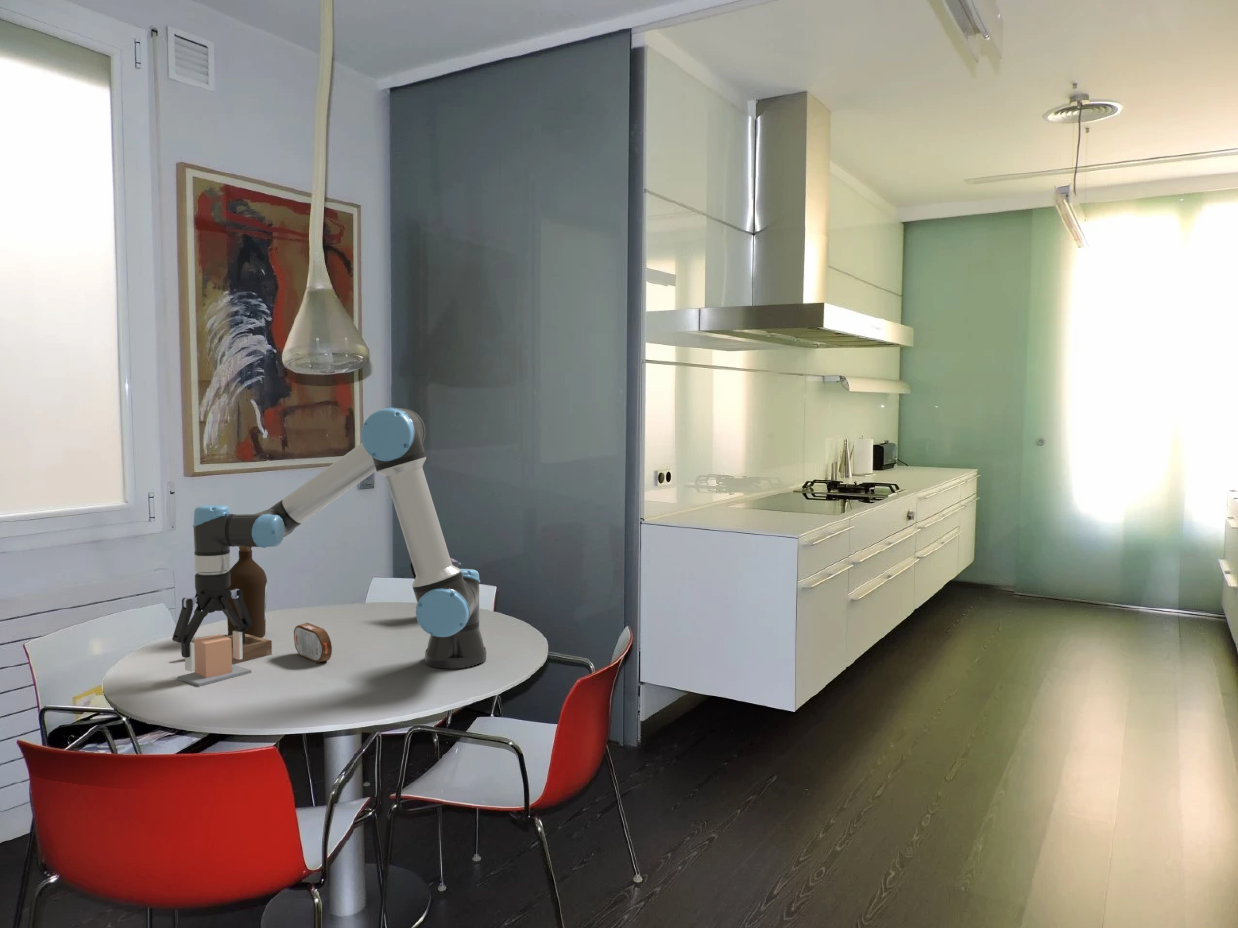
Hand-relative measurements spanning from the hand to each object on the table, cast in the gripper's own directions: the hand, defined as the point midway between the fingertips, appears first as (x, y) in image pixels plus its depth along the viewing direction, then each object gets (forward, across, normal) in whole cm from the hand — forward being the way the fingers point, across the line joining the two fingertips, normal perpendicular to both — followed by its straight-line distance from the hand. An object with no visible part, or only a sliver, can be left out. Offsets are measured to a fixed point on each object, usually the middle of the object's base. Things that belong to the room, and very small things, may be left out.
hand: (214, 664), depth 207 cm
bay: (+3, -11, -12) cm, 16 cm away
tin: (+3, -22, +6) cm, 23 cm away
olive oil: (+3, -25, -26) cm, 36 cm away
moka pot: (+3, -71, 0) cm, 71 cm away
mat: (+3, 0, 0) cm, 3 cm away
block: (+2, 0, -1) cm, 2 cm away
